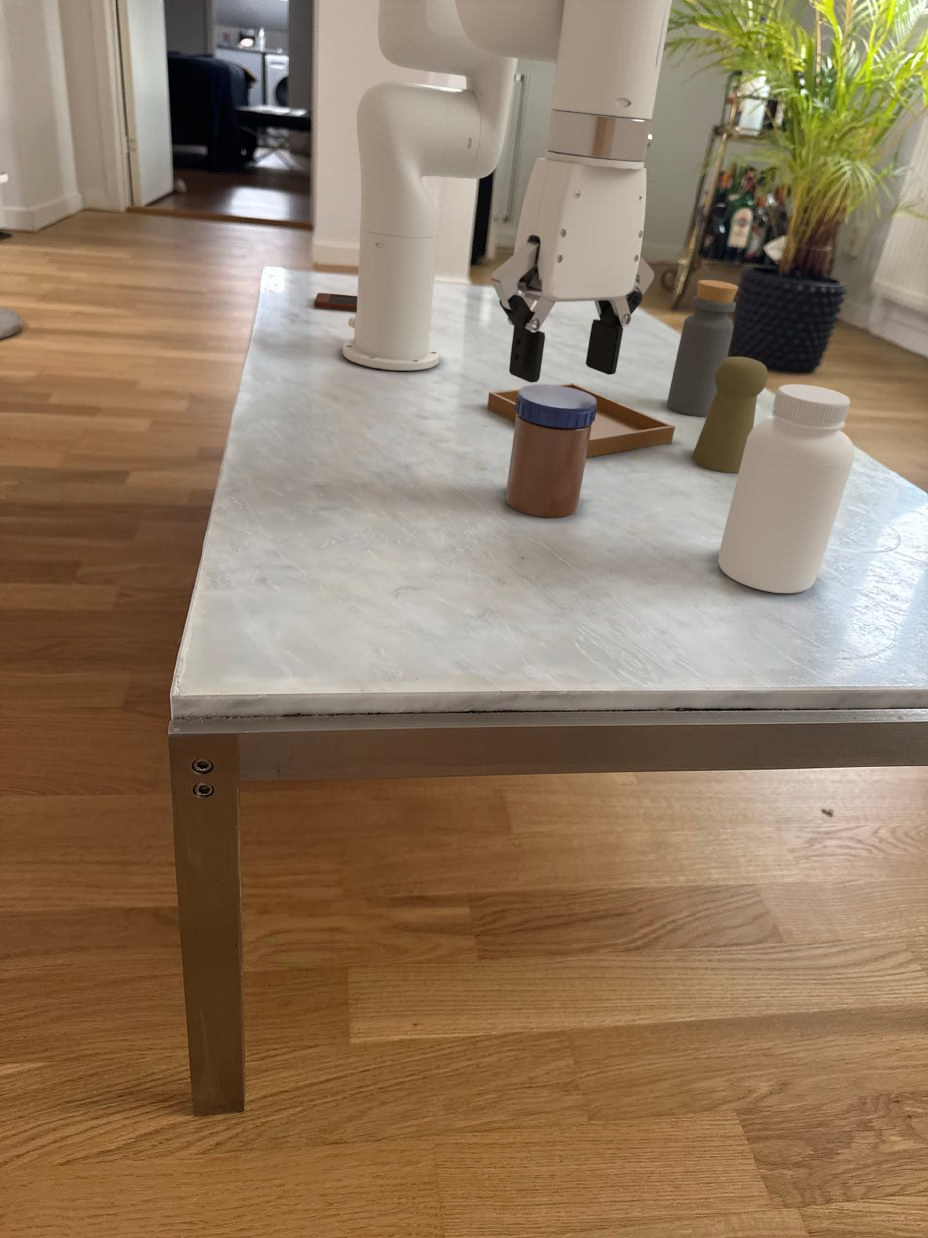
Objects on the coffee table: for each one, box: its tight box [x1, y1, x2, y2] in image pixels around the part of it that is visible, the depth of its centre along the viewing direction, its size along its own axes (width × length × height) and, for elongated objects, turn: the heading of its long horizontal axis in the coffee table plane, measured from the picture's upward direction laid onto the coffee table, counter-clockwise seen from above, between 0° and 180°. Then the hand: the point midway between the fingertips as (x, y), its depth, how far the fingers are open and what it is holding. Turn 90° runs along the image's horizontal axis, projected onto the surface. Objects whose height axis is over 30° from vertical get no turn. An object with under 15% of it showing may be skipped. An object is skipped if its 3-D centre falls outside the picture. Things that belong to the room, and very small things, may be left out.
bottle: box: [666, 279, 739, 417], centre depth 114 cm, size 6×6×15 cm
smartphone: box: [313, 292, 357, 312], centre depth 148 cm, size 7×1×15 cm
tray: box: [486, 382, 676, 459], centre depth 106 cm, size 17×13×2 cm
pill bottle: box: [717, 383, 855, 594], centre depth 74 cm, size 8×8×15 cm
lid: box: [515, 384, 597, 428], centre depth 81 cm, size 7×7×2 cm
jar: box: [504, 414, 592, 519], centre depth 83 cm, size 7×7×9 cm
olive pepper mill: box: [691, 356, 769, 474], centre depth 98 cm, size 6×6×11 cm
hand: (563, 373), depth 80 cm, fingers open, 8 cm apart
